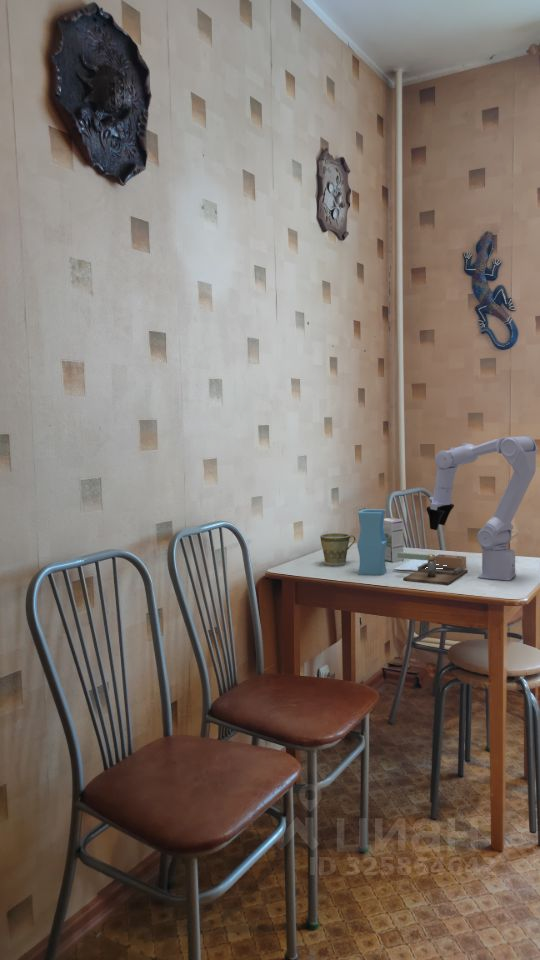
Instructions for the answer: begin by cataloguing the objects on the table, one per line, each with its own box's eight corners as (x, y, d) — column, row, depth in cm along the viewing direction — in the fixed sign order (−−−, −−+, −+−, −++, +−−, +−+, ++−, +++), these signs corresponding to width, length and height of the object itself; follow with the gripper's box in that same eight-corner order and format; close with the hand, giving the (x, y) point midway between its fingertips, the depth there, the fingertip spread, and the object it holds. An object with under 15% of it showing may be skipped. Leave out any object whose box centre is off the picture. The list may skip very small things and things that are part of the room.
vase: (382, 575, 223) (381, 512, 222) (357, 574, 226) (356, 512, 224) (387, 570, 231) (386, 509, 229) (363, 569, 234) (362, 509, 232)
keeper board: (467, 572, 225) (467, 555, 224) (448, 585, 209) (448, 566, 208) (425, 568, 232) (425, 551, 232) (403, 580, 216) (403, 562, 216)
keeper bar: (436, 560, 217) (436, 554, 217) (433, 561, 215) (433, 556, 215) (399, 556, 223) (399, 551, 223) (396, 558, 221) (396, 553, 221)
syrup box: (404, 560, 247) (403, 518, 245) (391, 562, 243) (391, 520, 242) (392, 557, 251) (392, 517, 250) (380, 560, 248) (379, 518, 247)
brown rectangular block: (466, 568, 231) (466, 556, 231) (462, 571, 228) (462, 558, 228) (439, 566, 236) (439, 554, 236) (435, 568, 233) (435, 556, 233)
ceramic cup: (329, 568, 237) (329, 538, 236) (315, 563, 246) (315, 534, 245) (363, 564, 242) (362, 535, 241) (348, 559, 251) (347, 531, 250)
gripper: (439, 480, 238) (433, 519, 241) (424, 487, 226) (417, 528, 229) (459, 485, 234) (453, 524, 237) (445, 492, 222) (439, 533, 225)
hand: (437, 526), depth 233 cm, fingers open, 7 cm apart
